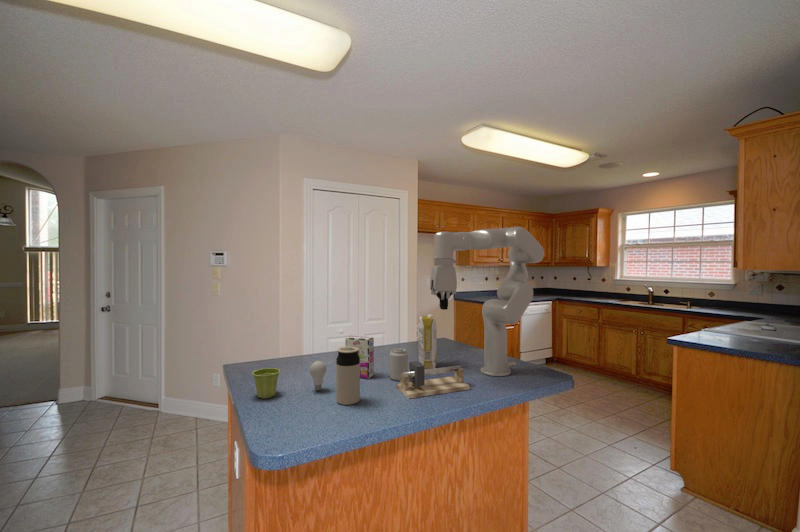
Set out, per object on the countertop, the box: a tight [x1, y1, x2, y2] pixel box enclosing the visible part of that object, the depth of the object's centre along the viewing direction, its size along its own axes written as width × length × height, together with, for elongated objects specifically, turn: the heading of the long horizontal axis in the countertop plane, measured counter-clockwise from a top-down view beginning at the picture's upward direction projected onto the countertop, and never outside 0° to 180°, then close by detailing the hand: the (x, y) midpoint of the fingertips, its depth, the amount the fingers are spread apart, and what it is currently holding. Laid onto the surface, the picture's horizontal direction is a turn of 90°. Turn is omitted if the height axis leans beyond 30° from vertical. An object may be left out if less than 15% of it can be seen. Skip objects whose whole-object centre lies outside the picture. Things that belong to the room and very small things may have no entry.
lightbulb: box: [309, 360, 327, 392], centre depth 134 cm, size 6×6×11 cm
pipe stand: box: [395, 368, 471, 400], centre depth 137 cm, size 25×12×6 cm, turn 112°
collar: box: [408, 361, 426, 386], centre depth 134 cm, size 3×7×7 cm, turn 22°
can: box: [389, 347, 409, 382], centre depth 149 cm, size 8×8×12 cm
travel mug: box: [335, 346, 361, 406], centre depth 124 cm, size 8×8×18 cm
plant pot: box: [251, 367, 281, 399], centre depth 130 cm, size 9×9×9 cm
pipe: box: [402, 364, 463, 377], centre depth 137 cm, size 24×2×2 cm, turn 112°
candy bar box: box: [345, 335, 375, 380], centre depth 152 cm, size 11×5×16 cm, turn 68°
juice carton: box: [418, 314, 437, 370], centre depth 165 cm, size 9×8×24 cm
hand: (443, 309), depth 144 cm, fingers closed
